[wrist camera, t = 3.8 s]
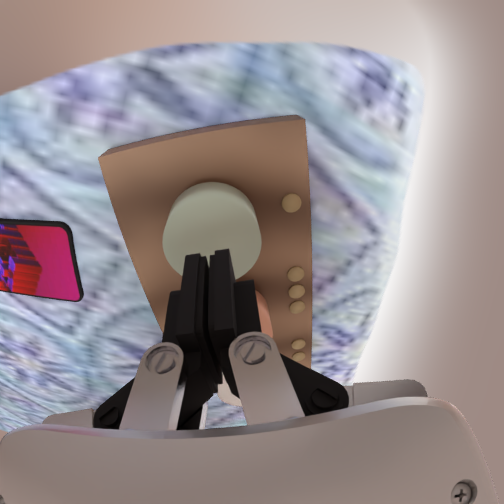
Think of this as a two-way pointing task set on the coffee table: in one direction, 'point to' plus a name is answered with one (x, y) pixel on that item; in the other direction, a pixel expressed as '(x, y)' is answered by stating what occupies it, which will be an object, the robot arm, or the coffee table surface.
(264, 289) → the button board
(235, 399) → the off-white button
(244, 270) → the sage button
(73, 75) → the coffee table surface
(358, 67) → the coffee table surface
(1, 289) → the smartphone
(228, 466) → the robot arm
